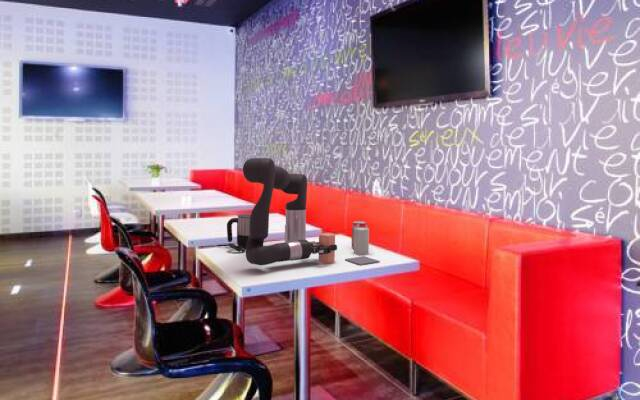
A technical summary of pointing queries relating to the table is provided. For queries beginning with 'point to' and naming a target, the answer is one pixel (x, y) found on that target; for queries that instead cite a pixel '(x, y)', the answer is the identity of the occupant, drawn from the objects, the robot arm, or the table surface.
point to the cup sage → (361, 240)
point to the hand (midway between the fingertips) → (331, 245)
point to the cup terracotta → (327, 240)
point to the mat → (362, 260)
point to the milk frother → (239, 231)
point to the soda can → (355, 224)
